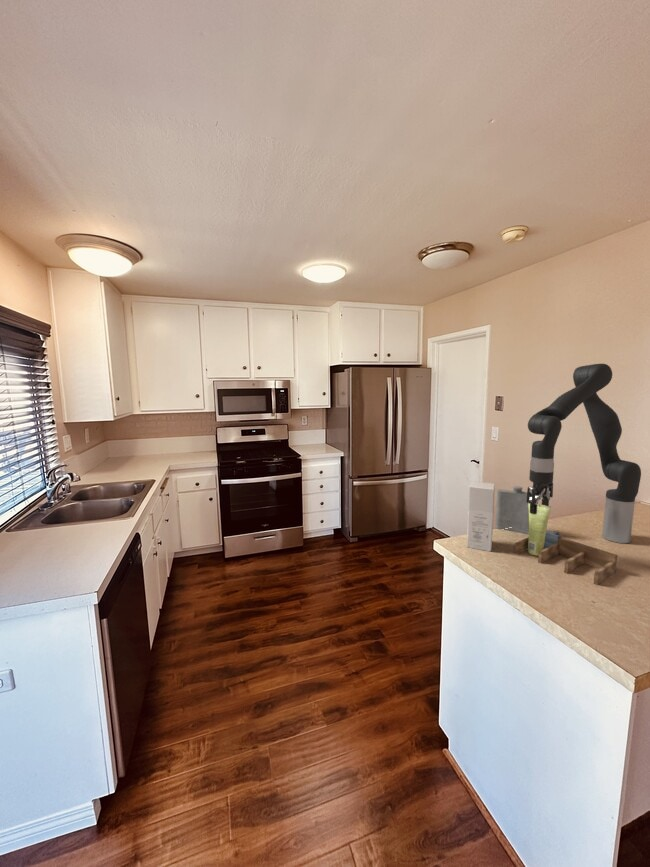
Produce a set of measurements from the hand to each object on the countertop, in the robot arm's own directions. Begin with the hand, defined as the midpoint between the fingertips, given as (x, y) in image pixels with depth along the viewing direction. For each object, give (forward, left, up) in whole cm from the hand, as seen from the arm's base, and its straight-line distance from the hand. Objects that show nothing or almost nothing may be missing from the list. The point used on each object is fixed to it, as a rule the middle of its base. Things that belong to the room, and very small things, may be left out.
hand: (539, 511), depth 133 cm
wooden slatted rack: (-2, +8, -17) cm, 19 cm away
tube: (0, 0, -17) cm, 17 cm away
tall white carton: (+11, -17, -17) cm, 26 cm away
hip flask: (-15, -17, -17) cm, 28 cm away
